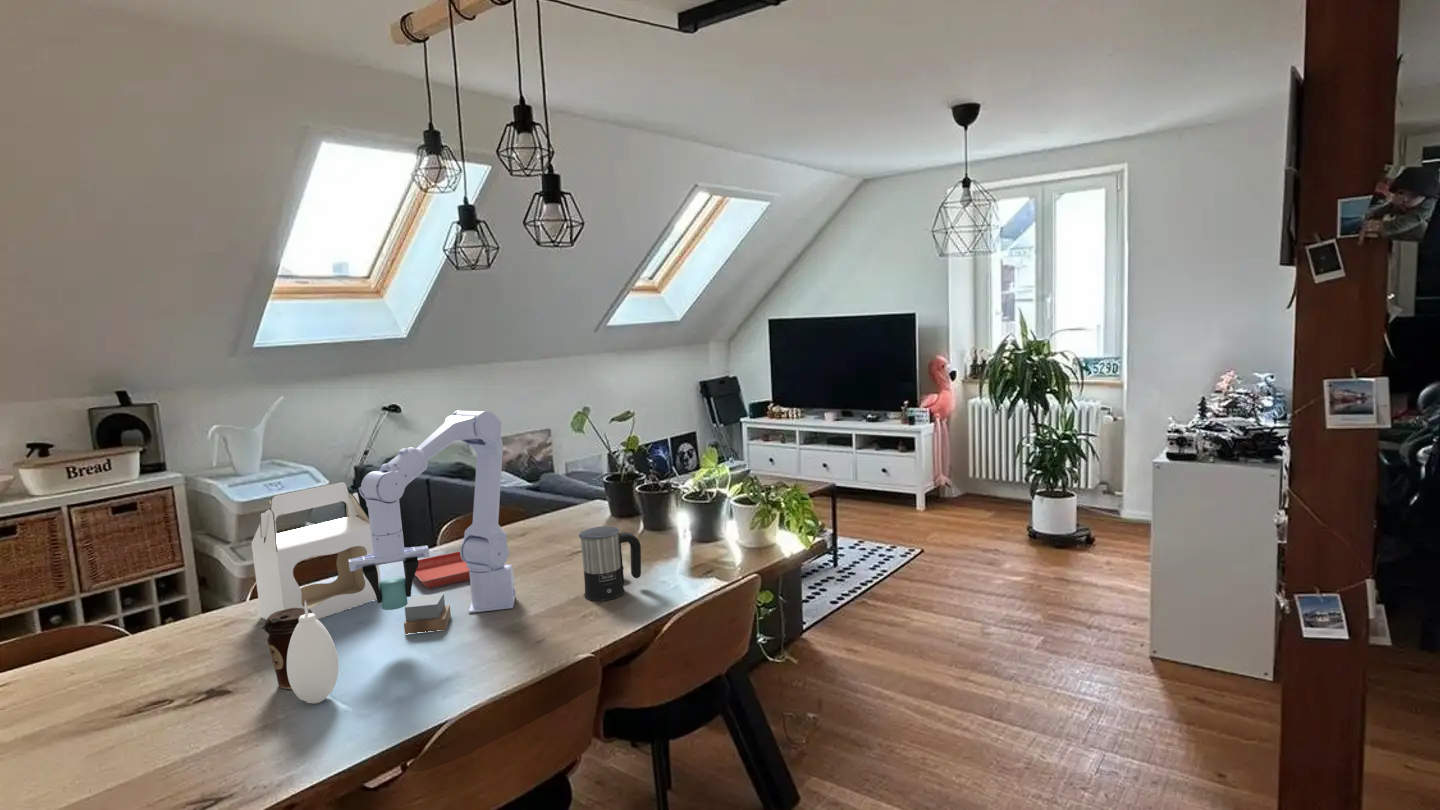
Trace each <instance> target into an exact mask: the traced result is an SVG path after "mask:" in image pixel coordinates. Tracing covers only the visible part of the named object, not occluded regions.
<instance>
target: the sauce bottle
mask: <svg viewBox="0 0 1440 810" xmlns="http://www.w3.org/2000/svg"><path fill="white" fill-rule="evenodd" d="M304 605H305V614H304V615H301V616H300V617H299V623H298V624H297V626H296V628H295V630H294V632H293V634H292V637H291V639H290V643H289V647H288V652H287V675H288V680H289V683H290V686H291V688H292V689H291V690H292V692H293V693H294V694H295V696H297V698H298V699H299V700H300V701H304V702H305V703H307V704H312V705H313V704H319V703H321V702H323V701H324V700H326V699H327V697H328V696H329V695H330V694H331V693H332V692H333V691H334V689H335V686H336V684H337V680H338V676H339V657H338V652H337V649H336V646H335V642H334V640H333V638H332V636H331V634H330V632H329V631H328V630H327V628H326V627H325V625H324V623H322V622H321V621H320V619H318V620H317V619H316V615H315V614H313V613H308V608H307V603H306V601H305V603H304Z"/></svg>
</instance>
